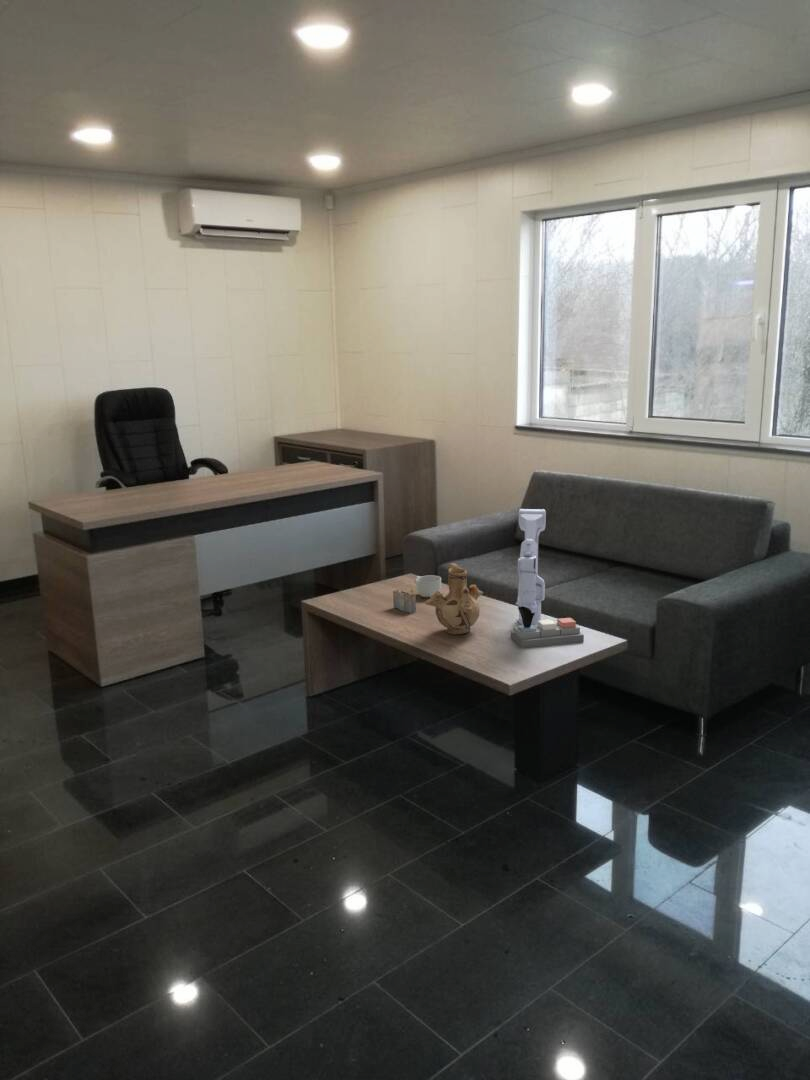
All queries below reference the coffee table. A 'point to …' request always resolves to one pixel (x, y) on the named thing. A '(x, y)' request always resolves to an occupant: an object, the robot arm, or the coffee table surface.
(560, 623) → the salmon pink key
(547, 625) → the white key
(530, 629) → the blue key
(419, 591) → the teacup
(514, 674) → the coffee table surface
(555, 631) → the key panel
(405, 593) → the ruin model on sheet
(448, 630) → the ceramic vessel
